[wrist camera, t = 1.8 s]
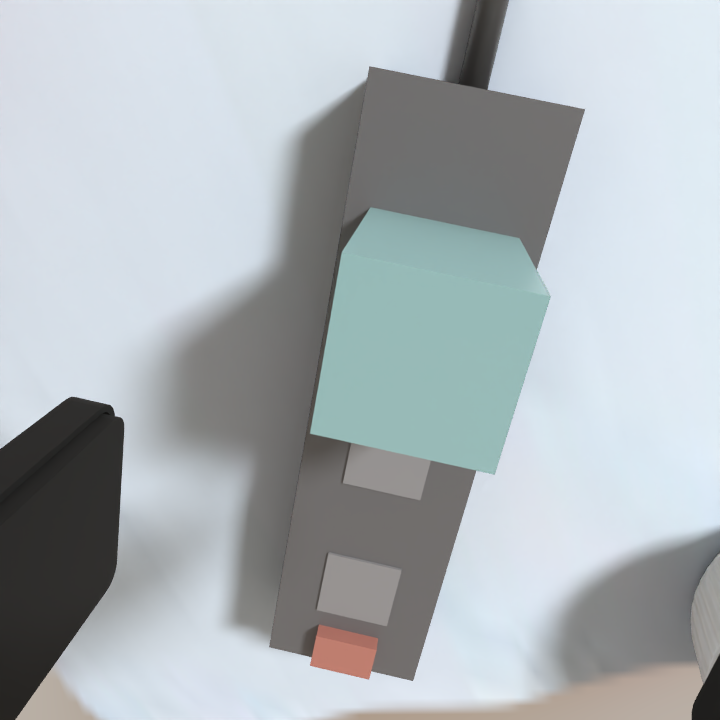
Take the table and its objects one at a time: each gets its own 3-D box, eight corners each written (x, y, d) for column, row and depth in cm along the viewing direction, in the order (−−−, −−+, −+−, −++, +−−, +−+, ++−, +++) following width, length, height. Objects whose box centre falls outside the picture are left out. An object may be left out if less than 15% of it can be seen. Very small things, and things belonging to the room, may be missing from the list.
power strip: (440, -271, 17) (439, -358, 14) (663, -231, 17) (716, -310, 14) (285, 595, 29) (265, 658, 26) (415, 625, 29) (412, 693, 26)
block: (376, 197, 21) (342, 251, 14) (512, 225, 21) (550, 296, 14) (352, 324, 23) (310, 433, 16) (477, 351, 23) (494, 474, 15)
